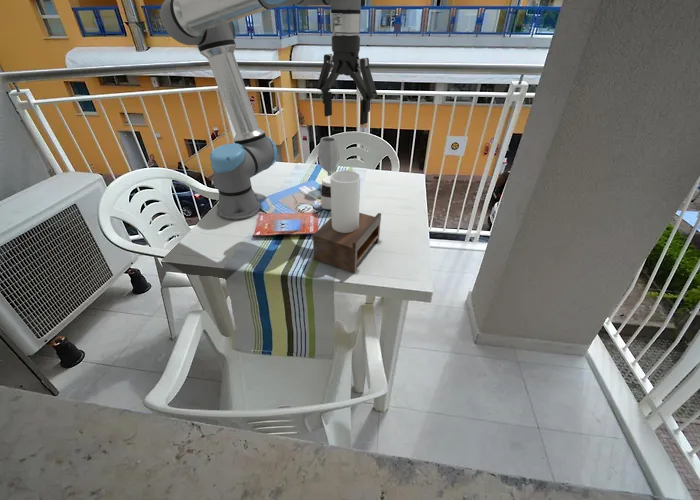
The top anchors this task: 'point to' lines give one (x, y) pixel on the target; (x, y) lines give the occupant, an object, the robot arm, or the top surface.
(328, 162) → the wineglass
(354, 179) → the cup
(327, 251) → the small wooden box
